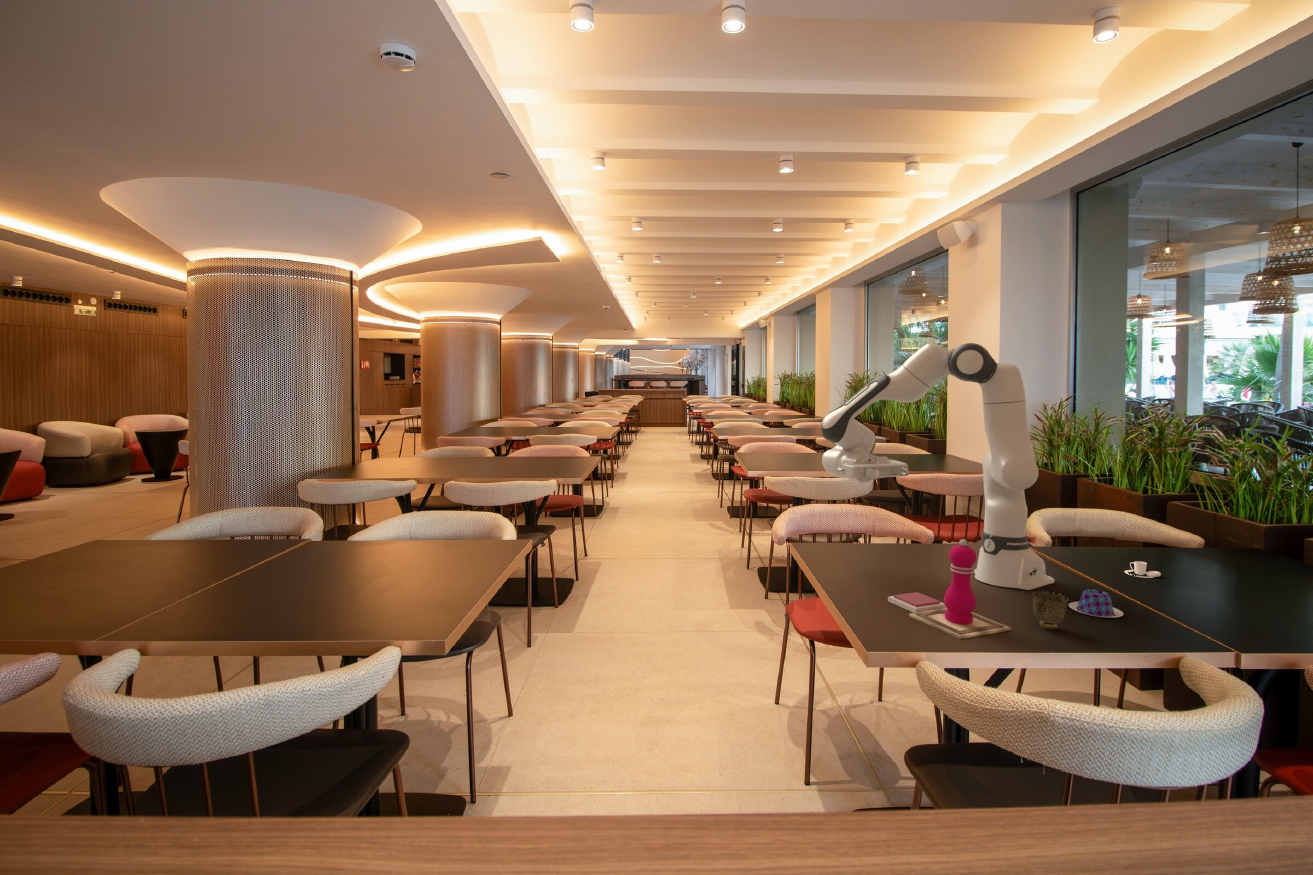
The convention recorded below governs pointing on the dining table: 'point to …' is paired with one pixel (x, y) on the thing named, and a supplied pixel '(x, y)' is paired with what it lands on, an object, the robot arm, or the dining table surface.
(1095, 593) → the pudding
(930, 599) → the ink pad
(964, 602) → the pepper mill
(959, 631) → the board
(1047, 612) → the cup
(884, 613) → the dining table surface
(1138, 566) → the teacup and saucer
